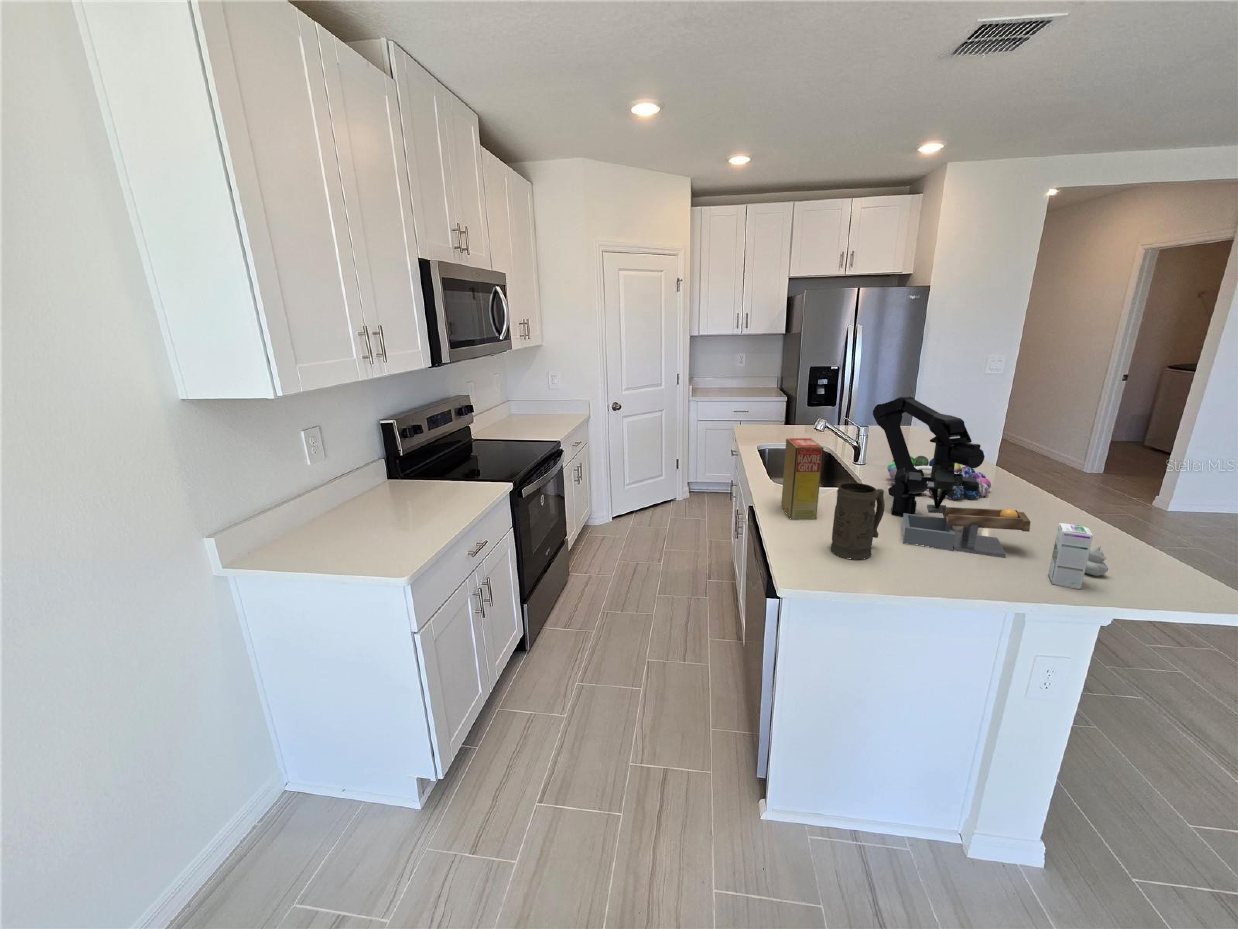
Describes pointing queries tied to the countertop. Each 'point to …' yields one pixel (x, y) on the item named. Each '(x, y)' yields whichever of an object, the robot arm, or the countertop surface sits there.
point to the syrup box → (1070, 555)
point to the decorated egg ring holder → (959, 492)
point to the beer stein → (856, 520)
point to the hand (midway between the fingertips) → (936, 507)
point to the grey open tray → (927, 531)
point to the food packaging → (801, 478)
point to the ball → (1009, 513)
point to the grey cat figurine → (1096, 563)
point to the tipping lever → (981, 518)
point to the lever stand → (977, 543)
